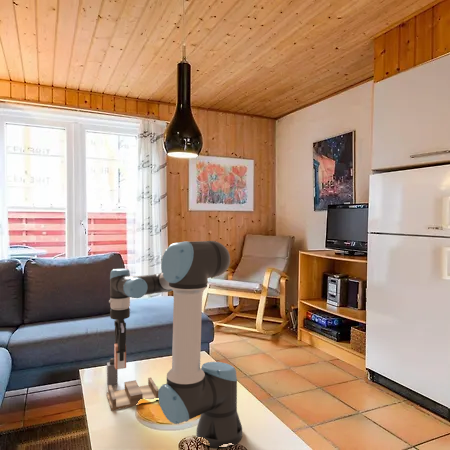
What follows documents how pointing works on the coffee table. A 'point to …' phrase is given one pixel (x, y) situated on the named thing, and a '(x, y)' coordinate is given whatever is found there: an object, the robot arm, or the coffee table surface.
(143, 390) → the wooden ridged block
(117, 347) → the terracotta plug
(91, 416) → the coffee table surface
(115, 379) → the charcoal plug
